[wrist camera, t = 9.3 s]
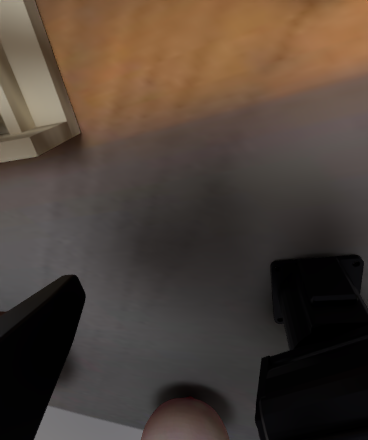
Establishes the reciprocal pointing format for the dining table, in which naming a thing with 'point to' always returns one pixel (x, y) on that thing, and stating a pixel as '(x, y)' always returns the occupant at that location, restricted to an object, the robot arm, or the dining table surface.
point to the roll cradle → (30, 86)
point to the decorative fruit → (184, 422)
